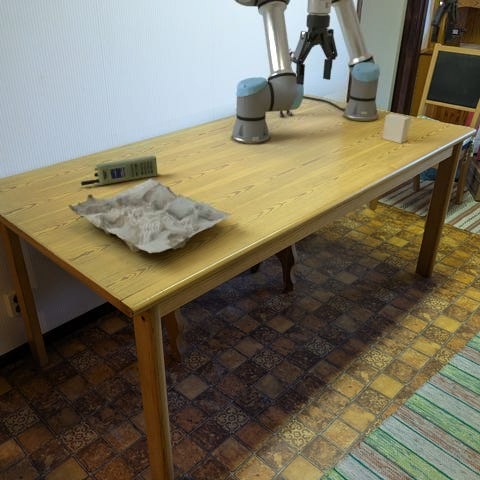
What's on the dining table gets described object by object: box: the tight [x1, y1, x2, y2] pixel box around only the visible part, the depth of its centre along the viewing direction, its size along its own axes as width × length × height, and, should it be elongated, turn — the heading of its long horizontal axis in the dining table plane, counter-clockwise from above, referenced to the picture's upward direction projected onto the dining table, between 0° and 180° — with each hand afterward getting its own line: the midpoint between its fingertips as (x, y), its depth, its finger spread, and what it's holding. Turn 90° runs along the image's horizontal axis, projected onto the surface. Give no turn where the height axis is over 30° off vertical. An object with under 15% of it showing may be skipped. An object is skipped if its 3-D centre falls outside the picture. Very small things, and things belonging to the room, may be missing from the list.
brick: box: [382, 112, 412, 144], centre depth 205 cm, size 5×8×10 cm, turn 45°
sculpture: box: [68, 178, 232, 254], centre depth 138 cm, size 38×6×30 cm
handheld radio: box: [80, 155, 159, 187], centre depth 164 cm, size 7×3×25 cm
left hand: (313, 81), depth 174 cm, fingers open, 13 cm apart
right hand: (441, 41), depth 226 cm, fingers open, 13 cm apart
